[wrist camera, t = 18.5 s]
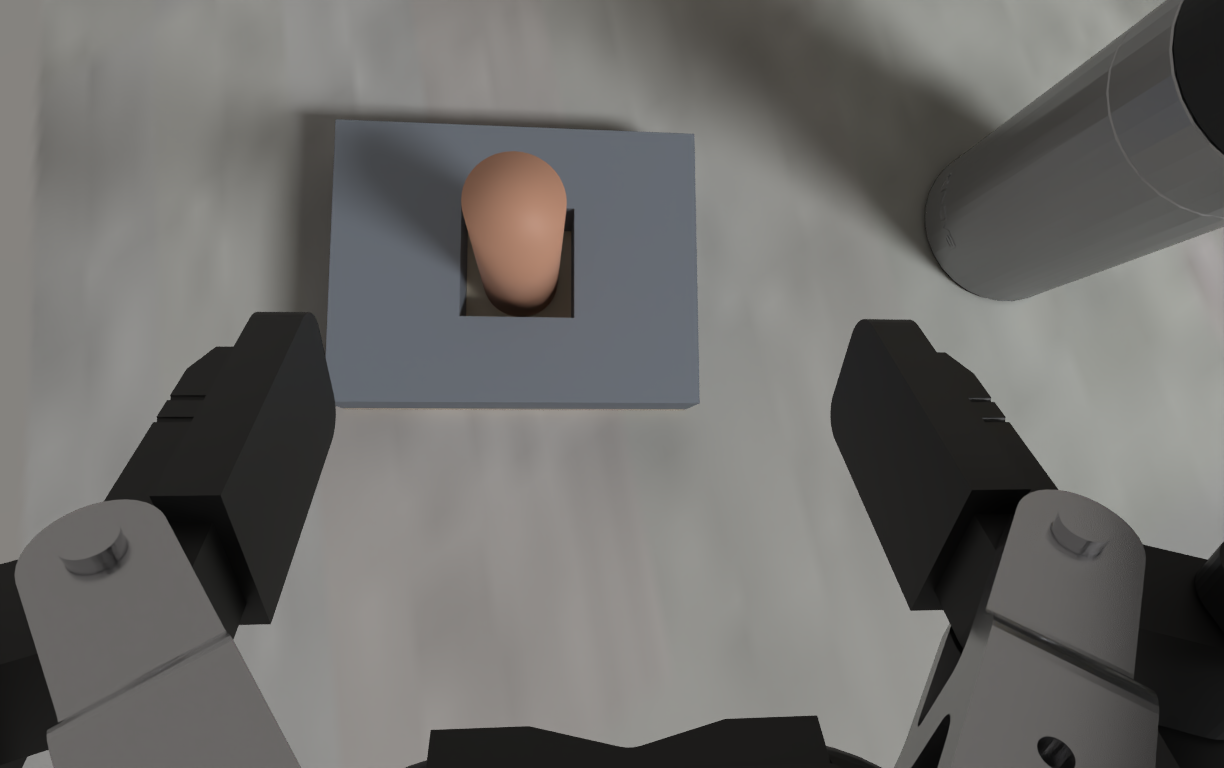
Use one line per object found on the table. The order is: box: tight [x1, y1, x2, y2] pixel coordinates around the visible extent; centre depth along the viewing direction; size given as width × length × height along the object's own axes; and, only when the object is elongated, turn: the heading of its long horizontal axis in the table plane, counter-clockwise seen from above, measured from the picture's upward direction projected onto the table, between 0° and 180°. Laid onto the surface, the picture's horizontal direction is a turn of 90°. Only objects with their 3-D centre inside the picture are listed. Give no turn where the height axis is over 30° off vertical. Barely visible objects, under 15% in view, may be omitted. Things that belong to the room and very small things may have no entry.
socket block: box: [326, 119, 700, 410], centre depth 39 cm, size 18×14×4 cm
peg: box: [461, 151, 567, 317], centre depth 34 cm, size 4×4×12 cm
